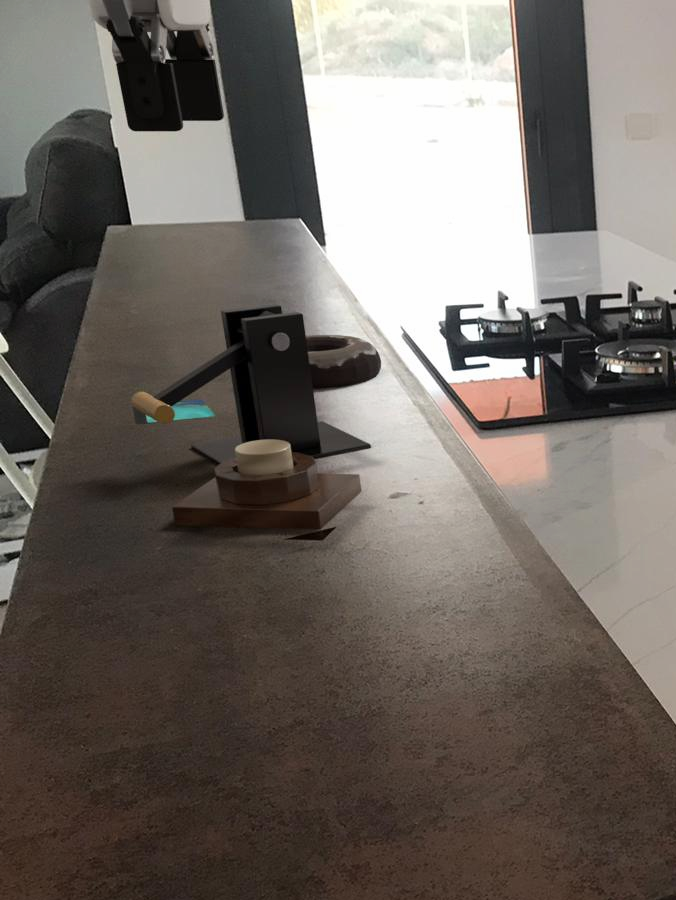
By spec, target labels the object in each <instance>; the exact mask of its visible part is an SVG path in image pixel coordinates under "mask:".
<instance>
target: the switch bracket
mask: <svg viewBox="0 0 676 900" xmlns="http://www.w3.org/2000/svg"><path fill="white" fill-rule="evenodd" d="M264 311H268V312H271V313H273V314H276V315H268V316H259V317H257V316H258V315H260V314H261V313H263V312H264ZM220 315H221V322H222V327H223V334H224V340H225V346H226V350H227V349H228V348H230V347H231V346H233V345H235V344H236V343H238V342H239V341H241V340H242V338H241V337H240V335H239V334H238V332H237V331H236V329H238V328H239V327H241V326H242V329H243V335H244V342H245V348H246V355H247V358H245V359H244V360H242V361H241V362H239V363H238V364H236V365H235V366H233V367H231V368H230V369H229V370H230V372H229V373H230V377H231V383H232V390H233V395H234V402H235V408H236V414H237V421H238V426H239V427H238V428H239V432H240V433H239V434H240V435H238V436H231V437H227V438H221V439H215V440H209V441H204V442H199V443H193V444H191V445H190V448H191V450H193V451H195V452H196V453H198V454H200V455H202V456H203V457H205V458H206V459H209V460H210V461H212V462H213V463H215V464H216V465H217V466H218V465H220V464H221V463H222V462H224V461H226V460H229V459H233V458H236V455H235V448H236V447H237V446H239V445H241V444H243V443H246V442H251V441H256V440H268V439H273V440H282V441H286V442H288V443H289V444H290V445H291V452H295V453H300V454H304V455H308V456H312V457H313V458H314V460H318V459H323V458H328V457H332V456H338V455H342V454H348V453H353V452H358V451H363V450H367V449H368V450H369V449H371V448H372V446H371V445H372V444H371V443H369V442H366V441H364V440H363V439H360V438H358V437H356V436H354V435H352V434H351V433H348V432H346V431H344V430H342V429H340V428H338V427H336V426H334V425H332V424H329V423H328V422H325V421H323V420H321V421H320V420H319V421H318V416H317V415H318V414H317V409H316V408H317V407H316V400H315V393H314V389H313V385H312V378H311V371H310V364H309V356H308V349H307V342H306V336H307V335H306V328H305V320H304V314H303V313H301V312H299V311H294V312H285V313H283V311H282V305H279V304H276V303H274V304H265V305H257V306H249V307H240V308H232V309H224V310H223V309H221V310H220Z"/></svg>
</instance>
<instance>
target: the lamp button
mask: <svg viewBox="0 0 676 900" xmlns="http://www.w3.org/2000/svg"><path fill="white" fill-rule="evenodd" d="M235 455H236V461H237V467H238V473H241V474H244V475H264V474H272V473H280V472H283V471H286V470H290V469H292V468H293V467H294V466H293V459H292V452H291V445H290V444H289V443H288V442H286V441H282V440H273V439H268V440H256V441H251V442H246V443H243V444H241V445H239V446H237V447H236V448H235Z"/></svg>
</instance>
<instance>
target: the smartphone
mask: <svg viewBox="0 0 676 900" xmlns="http://www.w3.org/2000/svg"><path fill="white" fill-rule="evenodd" d="M171 407H172V408H173V410H174V412H175V417H174V419H173V421H172V422H176V421H187V420H197V419H204V418H214V417H216V414H214V412H213V410H211V409H210V407H209V406H208V405H207V404H206V403H205V401H204V400H203V399H190V400H181V401H179V402H178V403H176V404H175V405H173V406H171ZM132 411H133V416H134V423H135V424H136V425H147V424H148V425H149V424H160V423H159V422H157V421H156V420H154V419H152V418H151V417H149V416H147V415H146V414H144V413H142V412H141V411H139V410H137V409H136V408H134V406H132Z"/></svg>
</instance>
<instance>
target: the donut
mask: <svg viewBox="0 0 676 900" xmlns="http://www.w3.org/2000/svg"><path fill="white" fill-rule="evenodd" d="M306 342H307V349H308V356H309V364H310V371H311V378H312V385H313V390H322V389H333V388H343V387H347V386H353V385H357V384H362V383H364V382H368V381H370V380H372V379H374V378H376V377H377V376H378V375H379V374H380V371H381V369H382V360H381V355H380V353H379V351H378V349H376V347H375V346H374V345H373V344H371V342H369V341H367V340H364V339H362V338H360V337H355V336H351V335H341V334H313V335H306Z"/></svg>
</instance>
